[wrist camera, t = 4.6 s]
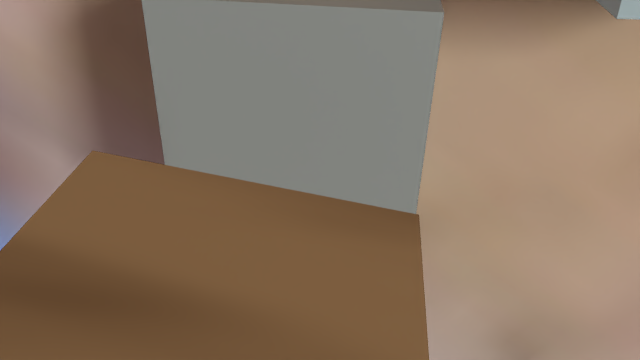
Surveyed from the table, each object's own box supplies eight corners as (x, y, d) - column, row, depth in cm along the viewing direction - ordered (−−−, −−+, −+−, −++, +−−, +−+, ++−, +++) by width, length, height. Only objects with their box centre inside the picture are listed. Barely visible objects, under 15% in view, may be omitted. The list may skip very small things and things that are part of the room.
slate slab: (406, 189, 19) (410, 254, 16) (206, 174, 20) (174, 234, 17) (433, -23, 16) (444, 12, 13) (186, -35, 16) (141, -4, 13)
